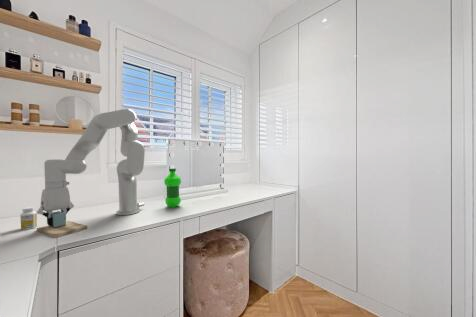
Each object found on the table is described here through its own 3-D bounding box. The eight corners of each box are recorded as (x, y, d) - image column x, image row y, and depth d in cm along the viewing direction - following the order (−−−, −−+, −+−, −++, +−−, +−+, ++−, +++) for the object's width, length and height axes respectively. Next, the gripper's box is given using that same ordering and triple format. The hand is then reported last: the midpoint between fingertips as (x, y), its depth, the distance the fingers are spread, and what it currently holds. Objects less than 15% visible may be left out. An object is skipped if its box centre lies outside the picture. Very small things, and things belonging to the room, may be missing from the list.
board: (67, 222, 106) (67, 220, 106) (87, 228, 98) (87, 225, 98) (36, 230, 96) (36, 228, 96) (55, 237, 87) (55, 234, 87)
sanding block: (48, 225, 99) (48, 213, 99) (59, 223, 102) (58, 211, 102) (55, 228, 95) (55, 215, 95) (66, 225, 99) (65, 212, 99)
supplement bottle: (29, 226, 103) (28, 206, 102) (40, 226, 102) (39, 206, 102) (17, 230, 97) (16, 209, 97) (28, 230, 97) (28, 209, 97)
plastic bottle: (161, 208, 134) (160, 169, 133) (170, 204, 144) (169, 167, 143) (175, 208, 131) (175, 169, 131) (184, 204, 141) (183, 167, 141)
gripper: (72, 183, 108) (73, 218, 108) (28, 187, 93) (29, 228, 93) (80, 183, 104) (81, 220, 105) (35, 188, 90) (36, 231, 90)
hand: (56, 223), depth 99 cm, fingers closed on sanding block, 4 cm apart
